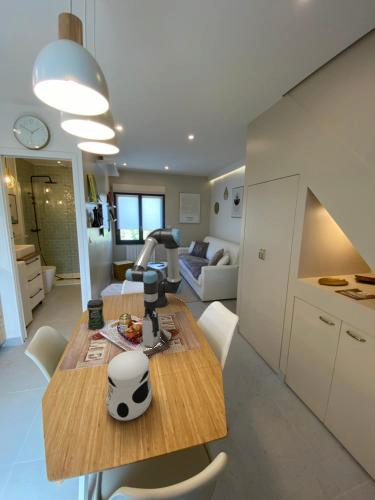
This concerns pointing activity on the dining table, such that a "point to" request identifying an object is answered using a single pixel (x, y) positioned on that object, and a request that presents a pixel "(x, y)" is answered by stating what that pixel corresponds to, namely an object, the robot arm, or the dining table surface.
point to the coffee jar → (95, 314)
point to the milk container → (128, 385)
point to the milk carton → (149, 332)
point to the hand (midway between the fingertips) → (151, 336)
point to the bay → (159, 348)
